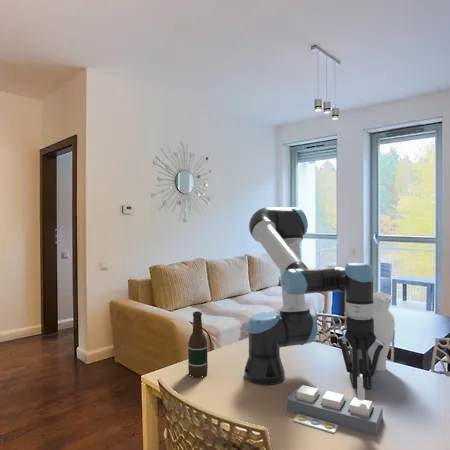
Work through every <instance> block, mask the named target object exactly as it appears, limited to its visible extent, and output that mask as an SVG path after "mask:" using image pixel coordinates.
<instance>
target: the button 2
mask: <svg viewBox="0 0 450 450" xmlns="http://www.w3.org/2000/svg"><path fill="white" fill-rule="evenodd" d="M324 393H325V395H324V396H323V397H322V405H323V406H327V407H331V408H335V409H339V410H340V409H341V407H342V406H343V404H344V398H345V394H342V393H340V392H339V393H338V392H334V391H330V390H327V391H326V392H324Z"/></svg>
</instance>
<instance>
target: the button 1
mask: <svg viewBox="0 0 450 450" xmlns="http://www.w3.org/2000/svg"><path fill="white" fill-rule="evenodd" d="M299 387H300V388H299V390H298V391H297V399H300V400H304V401H308V402H312V403H314V402H315V400H316V399H317V398H318V396H319V392H320V391H319V388H316V387H312V386H308V385H304V384H302V385H301V386H299Z"/></svg>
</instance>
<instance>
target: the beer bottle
mask: <svg viewBox="0 0 450 450" xmlns="http://www.w3.org/2000/svg"><path fill="white" fill-rule="evenodd" d="M202 315H203V312H201V311H199V310H198V311H193V312H192V318H193V319H192V333H191V335H189V339H188V343H187V345H188V346H187V353H188V354H187V355H188V359H187V360H188V367H187V368H188V376H189V375H191V376H193V377H202V376H204V377H206V376H207V375H208V369H209V368H208V364H209V363H208V360H209V359H208V339H207V336H206V334H205V333H204V332H203V322H202V319H203V318H202ZM205 375H206V376H205ZM191 376H190V377H191ZM193 377H192V378H193ZM202 378H203V377H202Z"/></svg>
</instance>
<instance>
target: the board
mask: <svg viewBox="0 0 450 450" xmlns="http://www.w3.org/2000/svg"><path fill="white" fill-rule="evenodd" d="M300 387H301V386H297V388H296V389H295V390H294V391H293V392H292V393H291V394H290V395H289V396H288V397H287V398H286V411H288V412H290V413H295V414H297V415H298V414H301V415H304V416H308V417H311V418H315V419H318V420H322V421H325V422H329V423H333V424H336V425H338V426H342V427H343V428H344V427H345V428H348V429H351V430H355V431H359V432H363V433H365V434H370V435H373V436H377V435H378V432H379V429H380V427H381V424H382V421H383V418H384V417H383V413H384V412H383V406H381V405H376V404H373V403H372V411H371V414H370V416H369V417H366V416H362V415H358V414H354V413H350V403H351V401H352V399H353V398H348V397H344V404H343V406H342V407H341V409H340V410H339V409H335V408H331V407H327V406H323V405H322V397H323V396H324V395H325V393H326V392H323V391H319V396H318V398H317V399H316V400H315V402H314V403H312V402H308V401H304V400H300V399H297V391H298V390H299V388H300Z"/></svg>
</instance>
